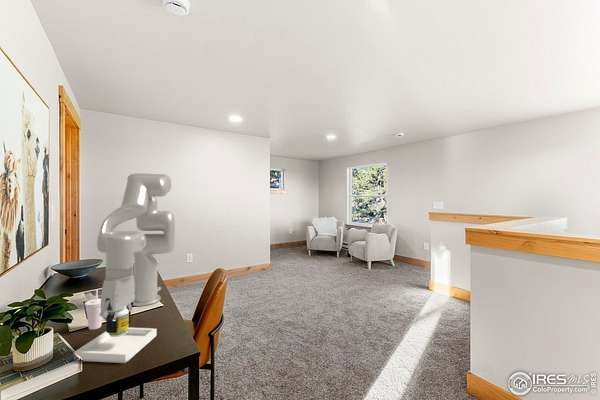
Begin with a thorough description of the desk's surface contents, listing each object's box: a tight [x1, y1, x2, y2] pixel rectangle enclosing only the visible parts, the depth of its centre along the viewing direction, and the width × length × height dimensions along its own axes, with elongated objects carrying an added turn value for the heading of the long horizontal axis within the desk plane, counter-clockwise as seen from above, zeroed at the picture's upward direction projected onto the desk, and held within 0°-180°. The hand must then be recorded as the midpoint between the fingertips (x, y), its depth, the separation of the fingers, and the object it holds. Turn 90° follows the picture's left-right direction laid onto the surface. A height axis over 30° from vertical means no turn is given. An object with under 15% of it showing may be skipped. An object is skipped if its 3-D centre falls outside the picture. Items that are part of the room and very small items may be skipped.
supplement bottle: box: [109, 306, 130, 337], centre depth 89 cm, size 5×5×10 cm
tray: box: [74, 327, 158, 364], centre depth 89 cm, size 16×16×2 cm
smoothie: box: [84, 289, 103, 331], centre depth 102 cm, size 6×6×14 cm
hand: (118, 327), depth 89 cm, fingers closed on supplement bottle, 5 cm apart
